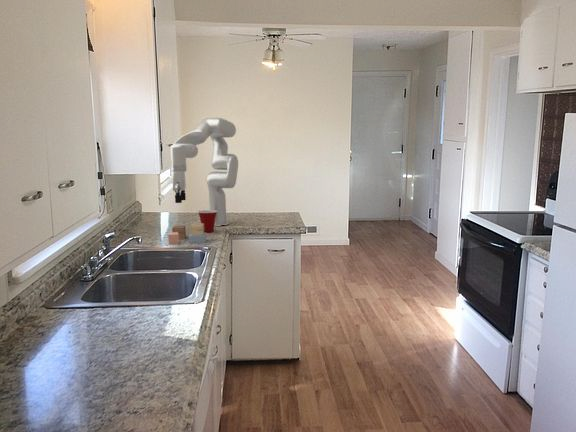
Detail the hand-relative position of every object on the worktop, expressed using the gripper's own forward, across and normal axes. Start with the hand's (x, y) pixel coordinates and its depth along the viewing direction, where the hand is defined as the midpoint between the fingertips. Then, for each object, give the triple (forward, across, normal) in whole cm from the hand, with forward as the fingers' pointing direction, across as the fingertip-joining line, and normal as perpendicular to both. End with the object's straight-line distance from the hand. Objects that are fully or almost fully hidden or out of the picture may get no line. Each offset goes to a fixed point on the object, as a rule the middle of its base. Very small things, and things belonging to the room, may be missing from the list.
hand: (180, 201), depth 260 cm
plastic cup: (+20, -16, +11) cm, 27 cm away
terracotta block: (+20, +10, -2) cm, 22 cm away
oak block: (+16, +8, +10) cm, 20 cm away
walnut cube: (+20, -2, -2) cm, 20 cm away
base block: (+20, +8, +10) cm, 23 cm away
